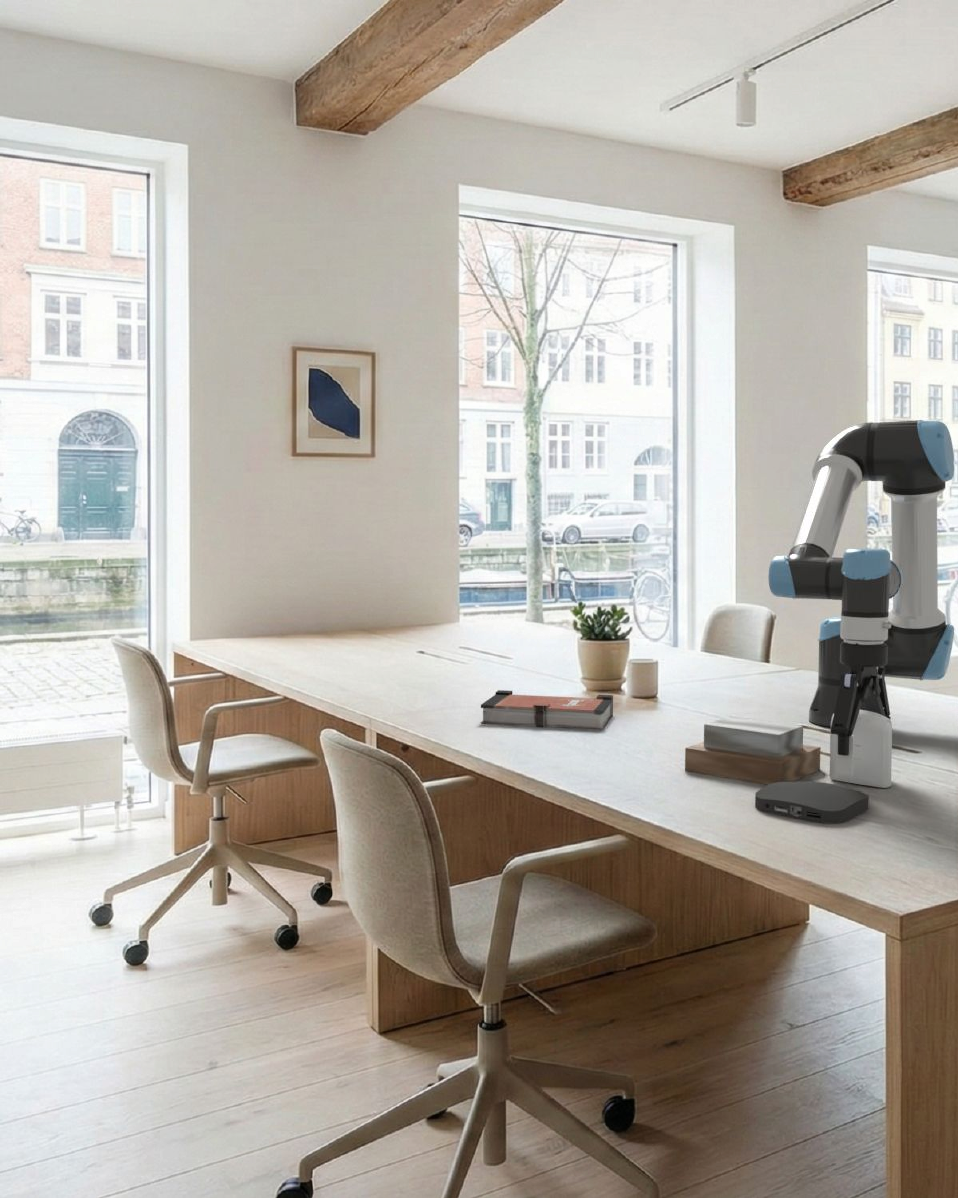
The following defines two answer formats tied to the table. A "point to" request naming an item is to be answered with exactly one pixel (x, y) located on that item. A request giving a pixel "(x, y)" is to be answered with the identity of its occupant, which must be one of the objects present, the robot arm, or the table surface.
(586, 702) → the book
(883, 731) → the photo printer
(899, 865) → the table surface
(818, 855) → the table surface
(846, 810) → the media streaming box
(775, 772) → the grey block on wood
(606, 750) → the table surface
